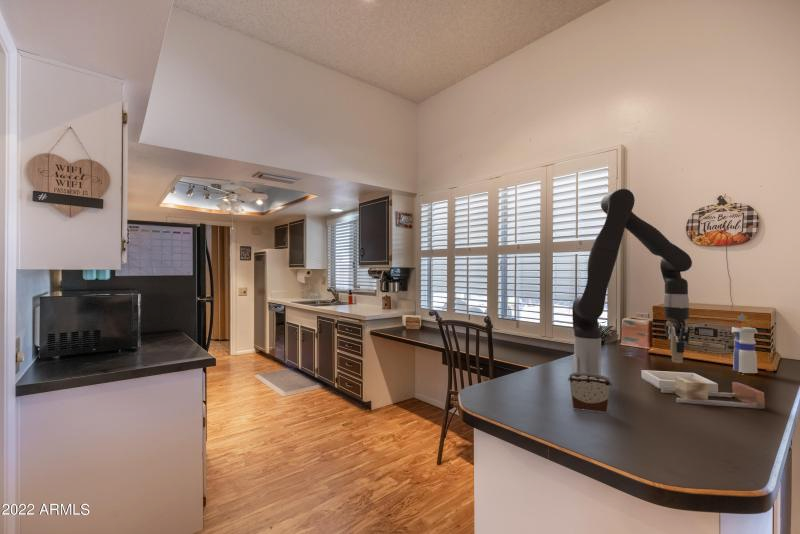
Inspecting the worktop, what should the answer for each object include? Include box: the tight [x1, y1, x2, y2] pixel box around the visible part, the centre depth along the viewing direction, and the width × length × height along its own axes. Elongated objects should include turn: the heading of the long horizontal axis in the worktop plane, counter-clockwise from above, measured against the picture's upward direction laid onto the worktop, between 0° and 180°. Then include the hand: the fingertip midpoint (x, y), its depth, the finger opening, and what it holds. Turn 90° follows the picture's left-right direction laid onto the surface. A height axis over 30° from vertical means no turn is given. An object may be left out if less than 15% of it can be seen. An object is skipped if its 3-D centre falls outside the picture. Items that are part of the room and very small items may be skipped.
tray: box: [641, 369, 719, 392], centre depth 135 cm, size 18×14×3 cm
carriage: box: [675, 376, 709, 400], centre depth 121 cm, size 6×7×6 cm
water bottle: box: [731, 313, 759, 373], centre depth 154 cm, size 8×9×25 cm
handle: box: [665, 321, 689, 364], centre depth 136 cm, size 5×6×15 cm
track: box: [660, 381, 766, 410], centre depth 119 cm, size 24×11×5 cm, turn 78°
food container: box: [567, 372, 614, 413], centre depth 112 cm, size 12×6×10 cm, turn 71°
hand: (676, 350), depth 136 cm, fingers closed on handle, 4 cm apart
